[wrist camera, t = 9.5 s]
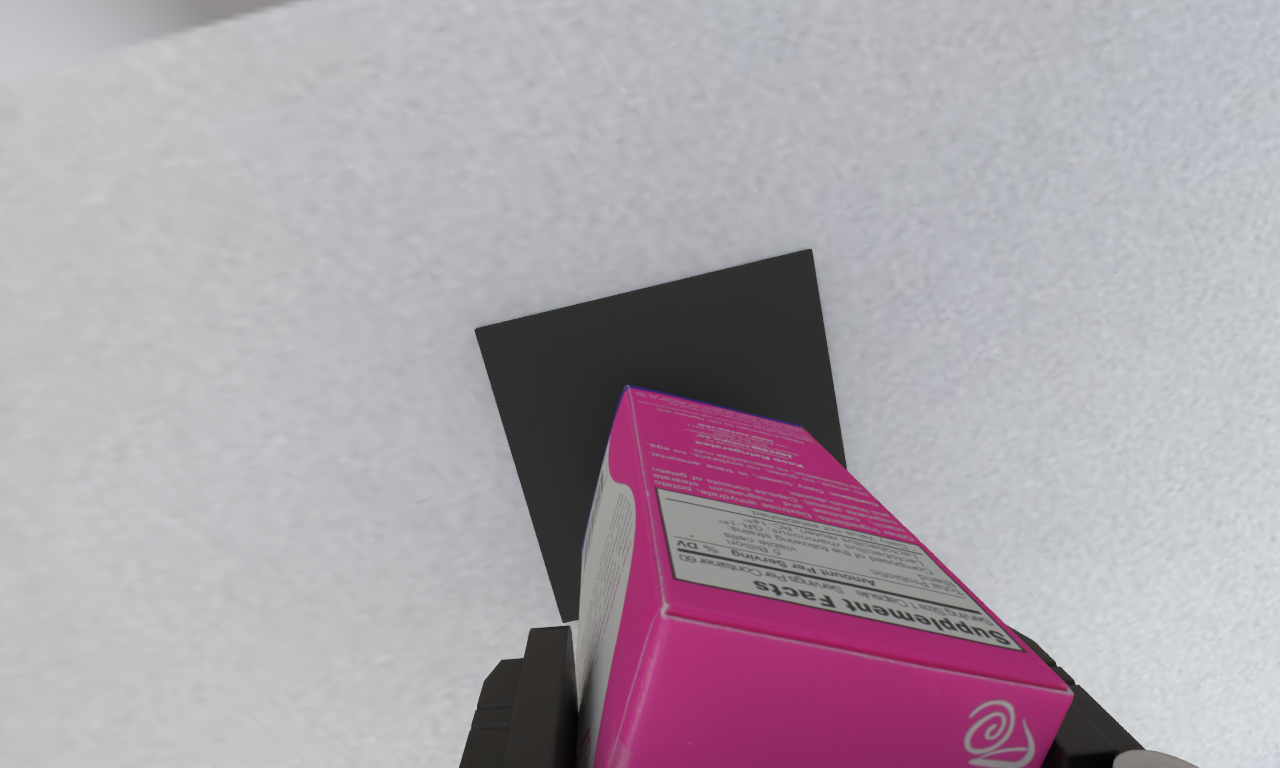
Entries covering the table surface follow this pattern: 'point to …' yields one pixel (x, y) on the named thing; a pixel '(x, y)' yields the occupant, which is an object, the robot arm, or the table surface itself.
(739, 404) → the felt pad
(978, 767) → the supplement box
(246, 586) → the table surface
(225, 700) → the table surface
